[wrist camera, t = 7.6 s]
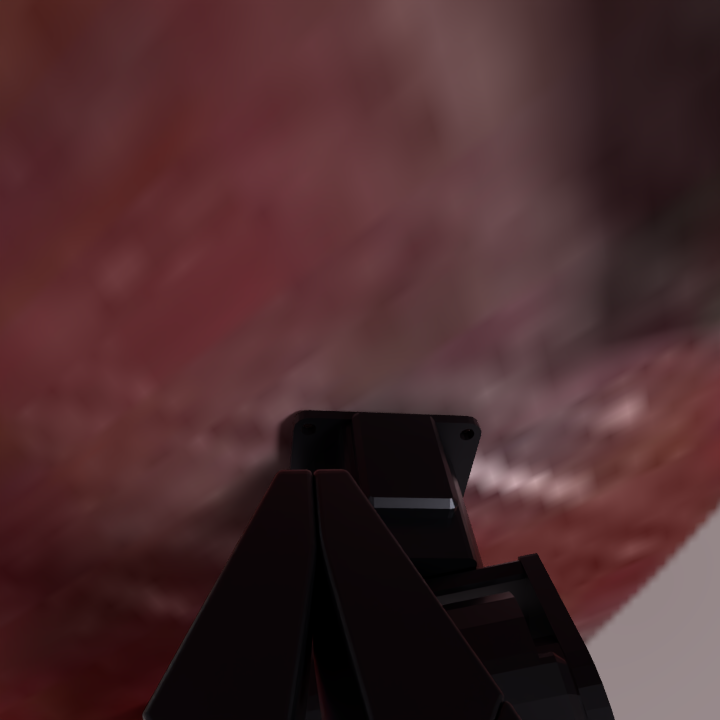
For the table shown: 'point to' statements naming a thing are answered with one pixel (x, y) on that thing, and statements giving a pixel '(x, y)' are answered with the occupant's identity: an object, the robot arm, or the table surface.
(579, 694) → the robot arm
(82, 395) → the table surface
